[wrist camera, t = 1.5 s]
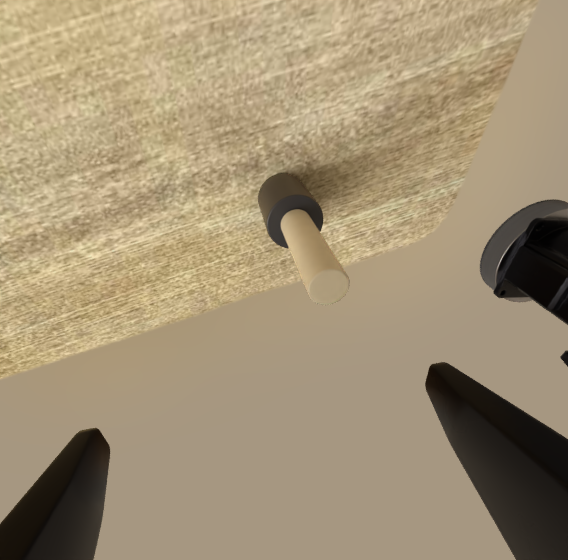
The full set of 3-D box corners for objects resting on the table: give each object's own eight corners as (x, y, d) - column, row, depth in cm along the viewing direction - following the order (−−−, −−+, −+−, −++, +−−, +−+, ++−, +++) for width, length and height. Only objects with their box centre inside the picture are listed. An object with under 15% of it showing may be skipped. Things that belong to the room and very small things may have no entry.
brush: (309, 174, 20) (377, 252, 11) (302, 221, 21) (358, 319, 13) (259, 171, 19) (294, 251, 11) (256, 219, 21) (284, 321, 12)
